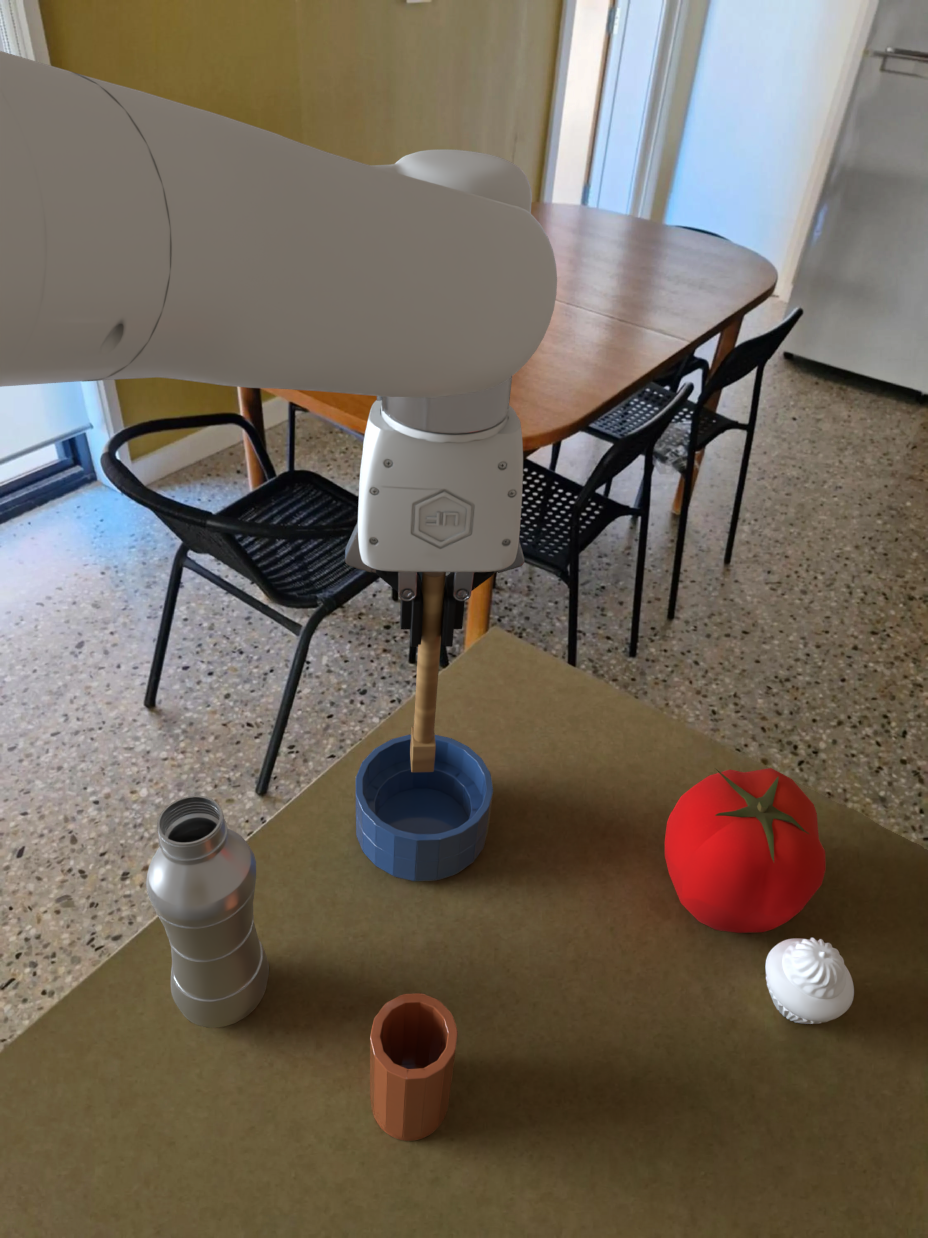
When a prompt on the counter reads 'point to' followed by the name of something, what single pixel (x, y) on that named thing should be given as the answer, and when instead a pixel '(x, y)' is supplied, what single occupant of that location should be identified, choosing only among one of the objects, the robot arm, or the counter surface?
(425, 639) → the stirring stick
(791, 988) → the muffin
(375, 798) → the bowl
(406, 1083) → the crock
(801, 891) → the tomato
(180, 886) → the silver metal bottle
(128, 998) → the counter surface
